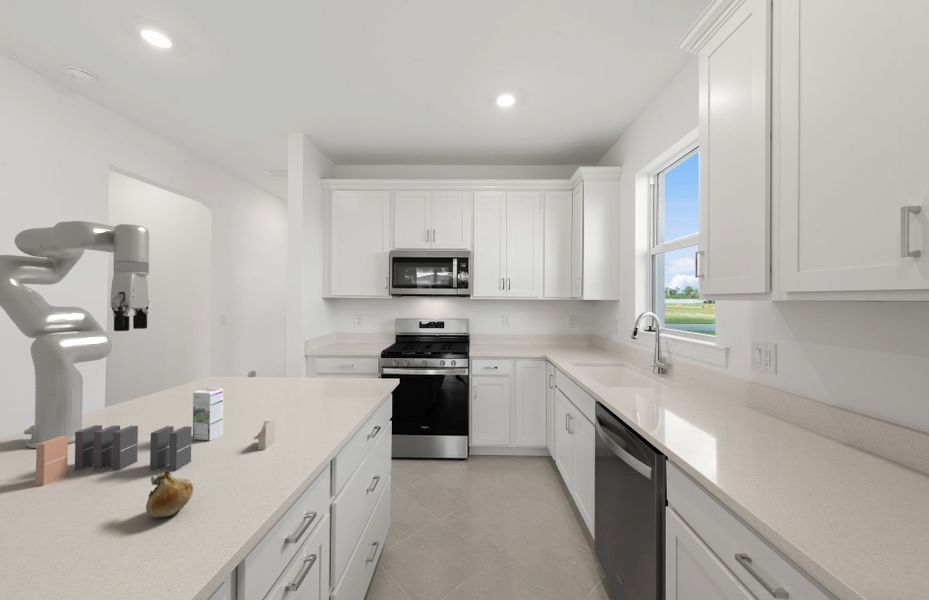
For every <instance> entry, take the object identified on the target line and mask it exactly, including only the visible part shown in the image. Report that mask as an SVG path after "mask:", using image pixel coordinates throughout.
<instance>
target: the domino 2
mask: <svg viewBox="0 0 929 600" xmlns="http://www.w3.org/2000/svg"><path fill="white" fill-rule="evenodd" d="M82 429H83V430H80V431H77V432H75V442H74V470H75V471H77V470H78V471H79V470H85V469H87V468H89V467H92V466H94V465H93V464H94V432H96V431H99V430H102V429H103V424H101V425H99V424H98V425H96V424H95V425H92V426H89V427H86V428H82ZM91 465H92V466H91Z"/></svg>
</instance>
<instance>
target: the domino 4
mask: <svg viewBox="0 0 929 600" xmlns="http://www.w3.org/2000/svg"><path fill="white" fill-rule="evenodd" d="M138 435H139V425H130V426H127V427H124V428H120V430H118V431H116V432H113V462H112V465H111V466H112V468H111V469H112V471H121V470H122V469H125V468H127V467H129V466H131V465H133V464H135V463H137V462H138V452H139V451H138V447H139V446H138V442H139V441H138Z"/></svg>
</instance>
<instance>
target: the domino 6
mask: <svg viewBox="0 0 929 600" xmlns="http://www.w3.org/2000/svg"><path fill="white" fill-rule="evenodd" d="M192 430H193V426H183V427H181V428H178V429H175V430H174V431H173V432H171V433H170V434H169V465H168V471H169V470H177V469H179V468H180V469H182V468H183V467H182V466H184V465H185V466H187V465H189V464H190V463H189V462H191V463H192ZM188 463H189V464H188ZM186 464H187V465H186ZM185 466H184V467H185ZM181 467H182V468H181ZM180 469H179V470H180ZM177 471H178V470H177Z"/></svg>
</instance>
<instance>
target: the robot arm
mask: <svg viewBox="0 0 929 600" xmlns="http://www.w3.org/2000/svg"><path fill="white" fill-rule="evenodd" d="M14 245H15V246H16V248H17V249H18V250H19V251H20V252H22V253H24V254H26V255H29V256H26V255H25V256H23V255H12V254H0V307H1V308H2V310H3V311H4V312H5V313H6V314H7V316H8V318H10V320H11V321H12V322H13V324H15V325H14V326H16V327H17V328H18V329H19V330H20V333H22V334H23V335H24V336H26V337H27V338H29V339H30V338H31V339H34V340H33V341H32V343H31V346H30V355H31V359H32V364H33V367H34V376H35V378H34V379H35V380H34V381H35V382H34V383H35V384H34V385H35V387H34V388H35V391H34V392H35V393H34V395H35V396H34V399H35V400H34V402H35V403H34V408H35V409H34V425H31V426H29V428H28V429H25V430H24V431H23V433H24V435H31V436H30V437H31V438H29V439H28V440H26V442H25V446H26V447H27V448H29V449H36V444H39V443H42V442H45V441H48V440H51V439H54V438H57V437H60V436H68V444H72V443H75V432H77V431H80V430H83V429H84V428H83V395H84V394H83V393H84V392H83V388H84V385H83V384H84V381H83V379H84V378H83V375H82V373H81V372H80V370H78V369H77V367H76V365H74V364H79V363H85V362H86V363H87V362H94V361H99V360H103V359H105V358H106V357H107V356H109V355H110V354H111V352H112V348H113V344H112V340H111V338H110V336H109V335H108V333H107V332H106V331H105V330H104V328H103V327H102V326H101V324H100V323H99V322H98V321H97V319H96V318H94V317H95V316H93V315H92V314H91V313H90V312H89V311H88V310H86V309H84V308H82V307H77V306H54V305H51V304H49V302H47V301H46V299H45V298H44V296H42V295H41V294H40V293H39V292H37V291H35V290H34V289H32V288H30V287H27V286H26V285H43V286H45V285H46V286H47V285H48V286H49V285H55V284H58V283H60V282H61V281H62V280H63V279H64V278H66V277H67V275H68V274H69V273H70V271H71V270H72V269H73V268H74V267H75V265H76V264H77V263H78V262H79V261H80V260H81V258H82V256H83V255H84V253H85V250H91V251H99V252H106V253H113V276H112V280H111V288H110V289H111V290H110V302H109V303H110V308H111V310H112V312H113V313H112V316H113V330H114V332H128V331H130V315H129V313H130V311H131V310H132V311H133V313H134V314H133V315H132V317H133V319H132V326H133V327H132V328H133V329H134V330H138V329H140V330H142V329H143V330H144V329H148V315H149V312H148V309H149V303H150V300H149V285H148V277H147V276H149V275H150V231H149V229H148V228H147V227H145V226H142V225H136V224H127V223H122V224H117V225H116V226H113V225H109V224H103V223H97V222H91V221H84V220H71V221H59V222H57V223H56V224H55V225H54V226H51V227H35V228H28V229H24V230H23V231H22V230H21V231H19V233H18V234H16V236H15V238H14Z"/></svg>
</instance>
